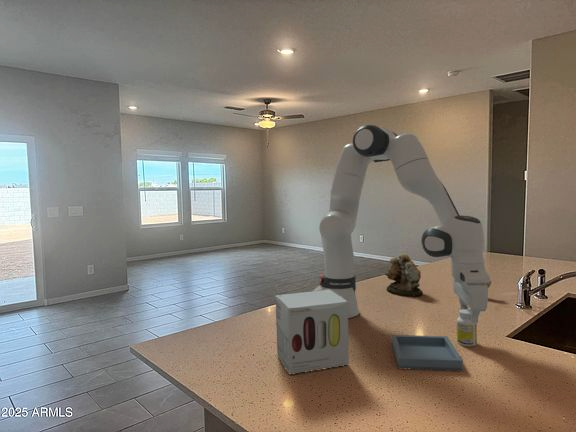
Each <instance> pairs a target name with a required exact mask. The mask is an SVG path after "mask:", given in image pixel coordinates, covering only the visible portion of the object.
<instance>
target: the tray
mask: <svg viewBox="0 0 576 432" xmlns="http://www.w3.org/2000/svg"><path fill="white" fill-rule="evenodd" d="M391 345H392V350H393V352H394V353H395V354H394V353H393V354H394V356H395V361H396V365H397V364H398V365H397V368H398V369H399V368H407V369H406V370H417V369H428V370H427V371H444V370H452V371H451V372H453V370H454V372H463V371H464V361H463V359H462V356H461V355H460V353H459V352H458V351H457V348H456V347H455V346H454V344H453V343H452V342H451V339H450V338H449V337H448V336H447V335H414V334H413V335H408V334H391ZM408 368H410V369H408ZM430 369H432V370H430Z"/></svg>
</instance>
